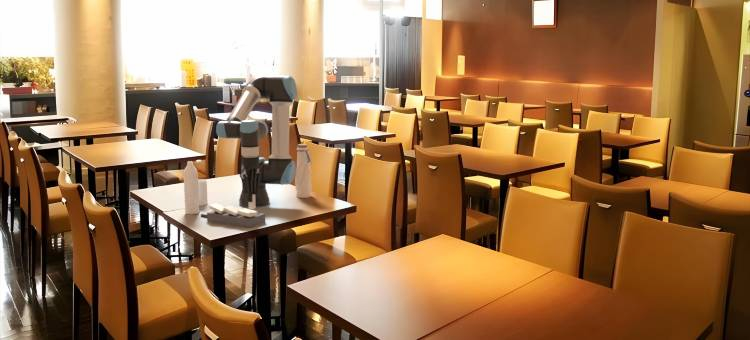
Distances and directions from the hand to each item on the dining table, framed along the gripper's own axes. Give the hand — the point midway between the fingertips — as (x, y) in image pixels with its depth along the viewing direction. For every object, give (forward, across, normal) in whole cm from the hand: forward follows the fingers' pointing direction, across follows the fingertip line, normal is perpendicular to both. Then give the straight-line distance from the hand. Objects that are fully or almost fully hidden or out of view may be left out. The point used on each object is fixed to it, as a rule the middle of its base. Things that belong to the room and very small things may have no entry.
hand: (252, 208), depth 269 cm
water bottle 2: (+9, -58, -10) cm, 60 cm away
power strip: (+8, -2, -15) cm, 17 cm away
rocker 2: (+2, 0, -10) cm, 11 cm away
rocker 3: (+2, 0, -2) cm, 3 cm away
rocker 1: (+2, 0, -18) cm, 19 cm away
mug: (+9, -18, -48) cm, 52 cm away
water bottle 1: (+8, -6, -38) cm, 40 cm away
